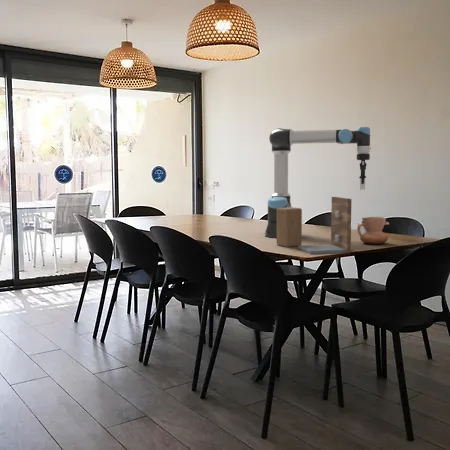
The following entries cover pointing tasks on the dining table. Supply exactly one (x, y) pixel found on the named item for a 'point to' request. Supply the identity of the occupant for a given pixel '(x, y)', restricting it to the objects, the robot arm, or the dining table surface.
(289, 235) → the wooden block
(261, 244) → the dining table surface
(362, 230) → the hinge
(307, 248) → the plate
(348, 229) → the cabinet side
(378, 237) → the ceramic jug
